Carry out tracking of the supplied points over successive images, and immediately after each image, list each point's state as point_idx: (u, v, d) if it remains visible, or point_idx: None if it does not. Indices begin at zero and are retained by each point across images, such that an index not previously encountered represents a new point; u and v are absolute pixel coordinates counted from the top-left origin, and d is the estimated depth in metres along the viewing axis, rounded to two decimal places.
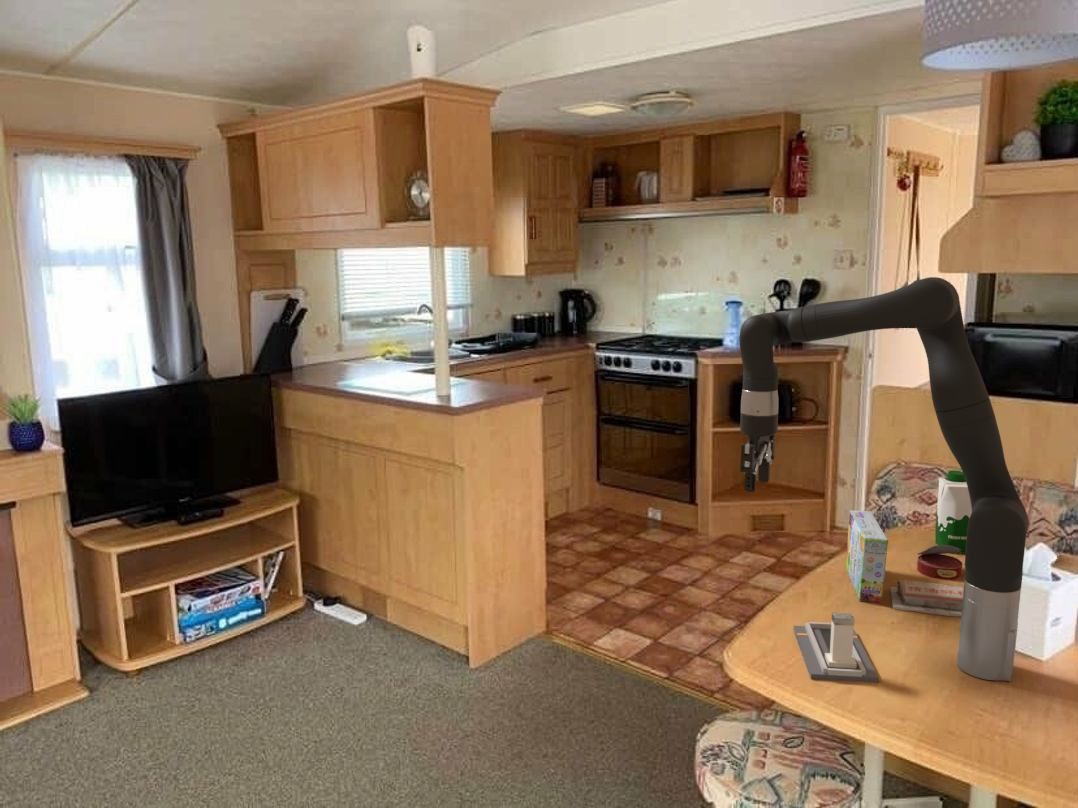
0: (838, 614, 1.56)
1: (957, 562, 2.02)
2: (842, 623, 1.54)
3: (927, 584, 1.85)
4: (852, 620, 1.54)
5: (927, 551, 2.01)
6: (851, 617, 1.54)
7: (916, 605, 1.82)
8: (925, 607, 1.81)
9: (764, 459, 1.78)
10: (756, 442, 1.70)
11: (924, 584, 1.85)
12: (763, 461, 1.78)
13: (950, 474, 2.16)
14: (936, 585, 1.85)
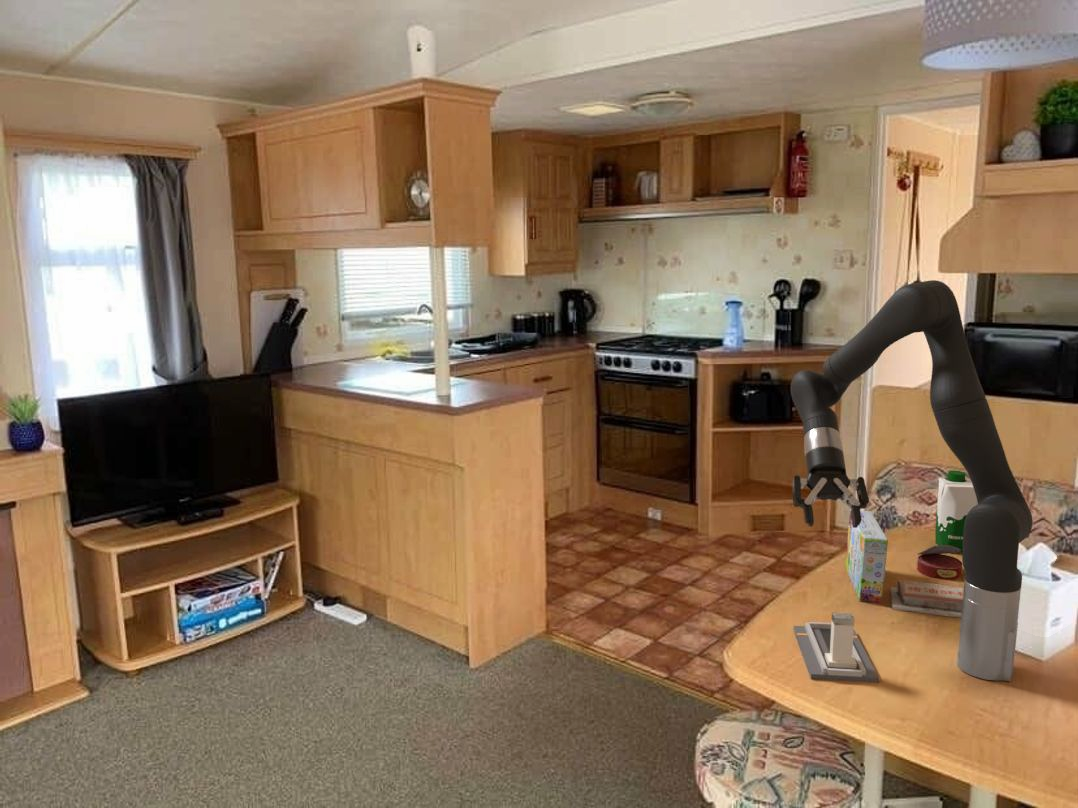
0: (838, 614, 1.56)
1: (957, 562, 2.02)
2: (842, 623, 1.54)
3: (927, 584, 1.85)
4: (852, 620, 1.54)
5: (927, 551, 2.01)
6: (851, 617, 1.54)
7: (915, 605, 1.82)
8: (924, 607, 1.81)
9: None
10: (809, 476, 1.69)
11: (924, 584, 1.85)
12: (852, 505, 1.66)
13: (950, 474, 2.16)
14: (936, 586, 1.84)
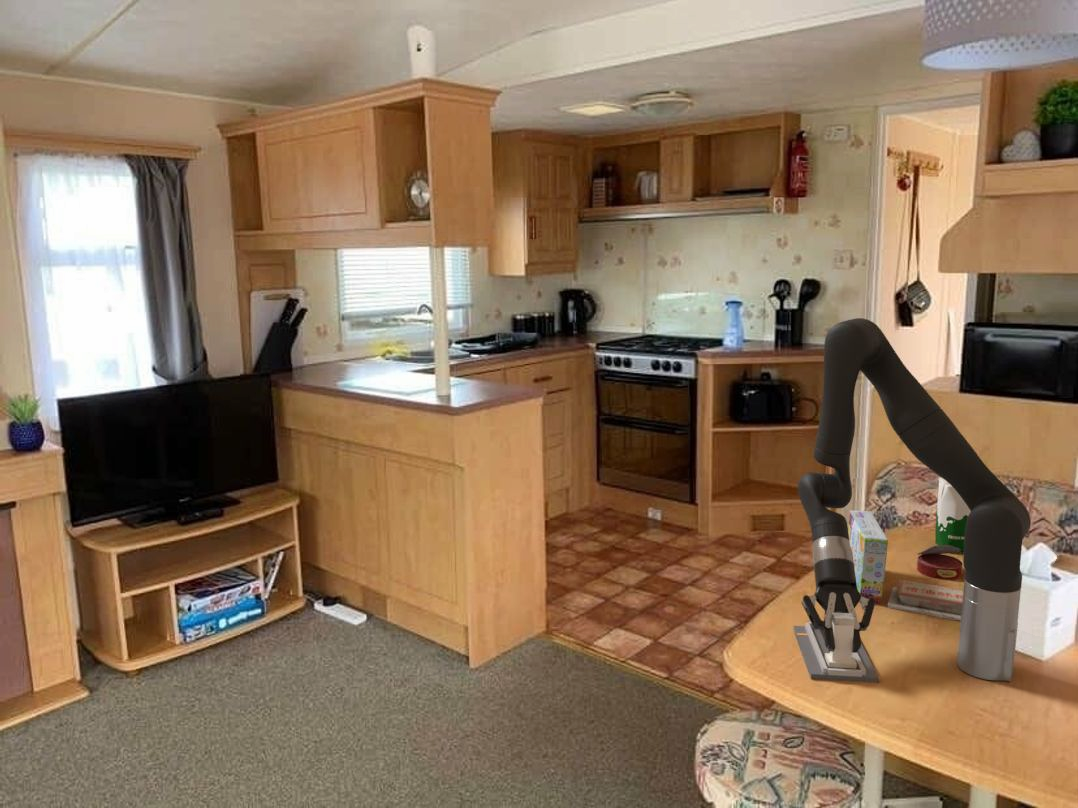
0: (838, 614, 1.56)
1: (957, 562, 2.02)
2: (842, 623, 1.54)
3: (926, 585, 1.84)
4: (852, 620, 1.54)
5: (927, 551, 2.01)
6: (851, 617, 1.54)
7: (911, 605, 1.82)
8: (920, 608, 1.81)
9: None
10: (816, 591, 1.60)
11: (923, 585, 1.85)
12: None
13: None
14: (936, 587, 1.84)
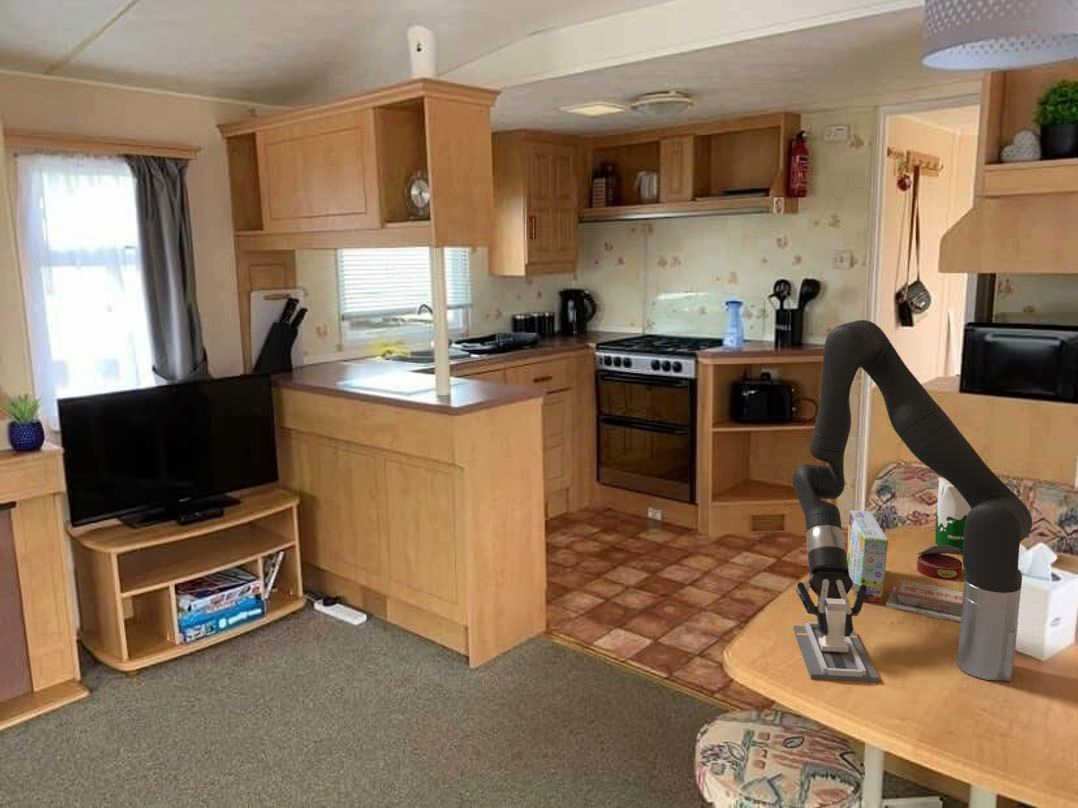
0: (831, 600, 1.62)
1: (957, 562, 2.02)
2: (835, 608, 1.60)
3: (926, 586, 1.84)
4: (844, 605, 1.60)
5: (927, 551, 2.01)
6: (843, 603, 1.60)
7: (909, 605, 1.82)
8: (918, 608, 1.81)
9: None
10: (810, 578, 1.66)
11: (923, 586, 1.85)
12: None
13: None
14: (935, 588, 1.83)
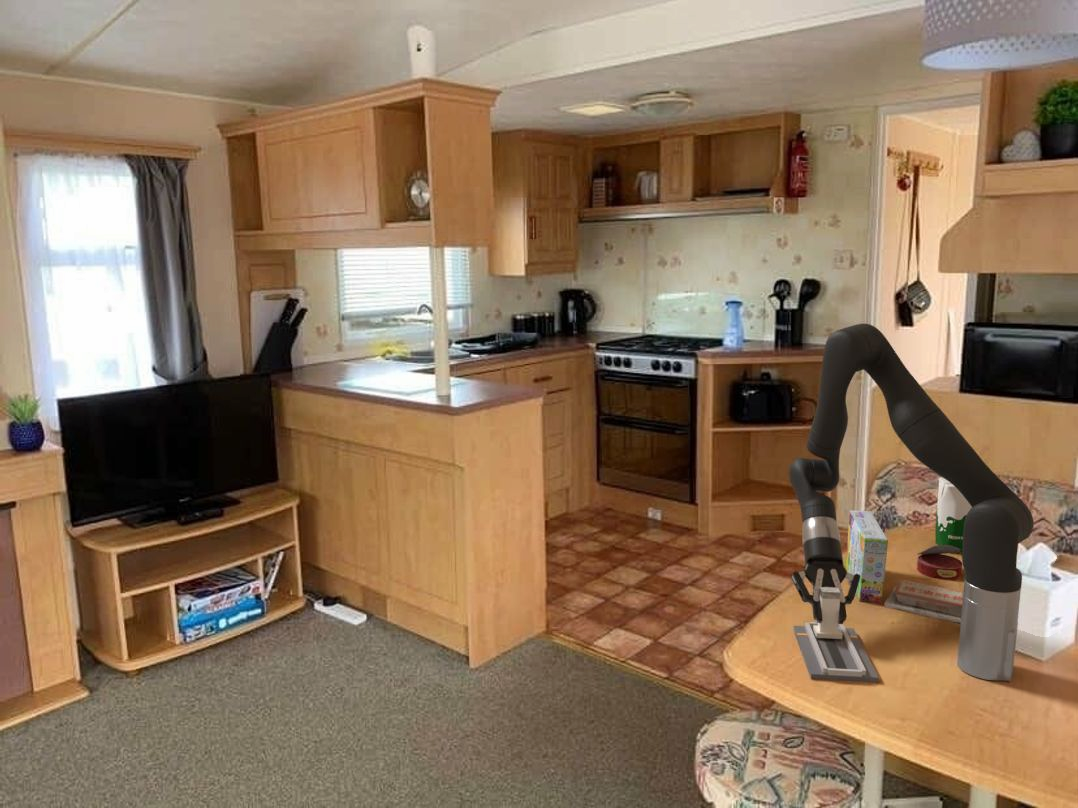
0: (825, 588, 1.67)
1: (957, 562, 2.02)
2: (829, 596, 1.66)
3: (926, 586, 1.84)
4: (838, 594, 1.65)
5: (927, 551, 2.01)
6: (837, 591, 1.66)
7: (908, 605, 1.82)
8: (916, 608, 1.81)
9: None
10: (805, 568, 1.72)
11: (923, 586, 1.84)
12: None
13: None
14: (935, 588, 1.83)
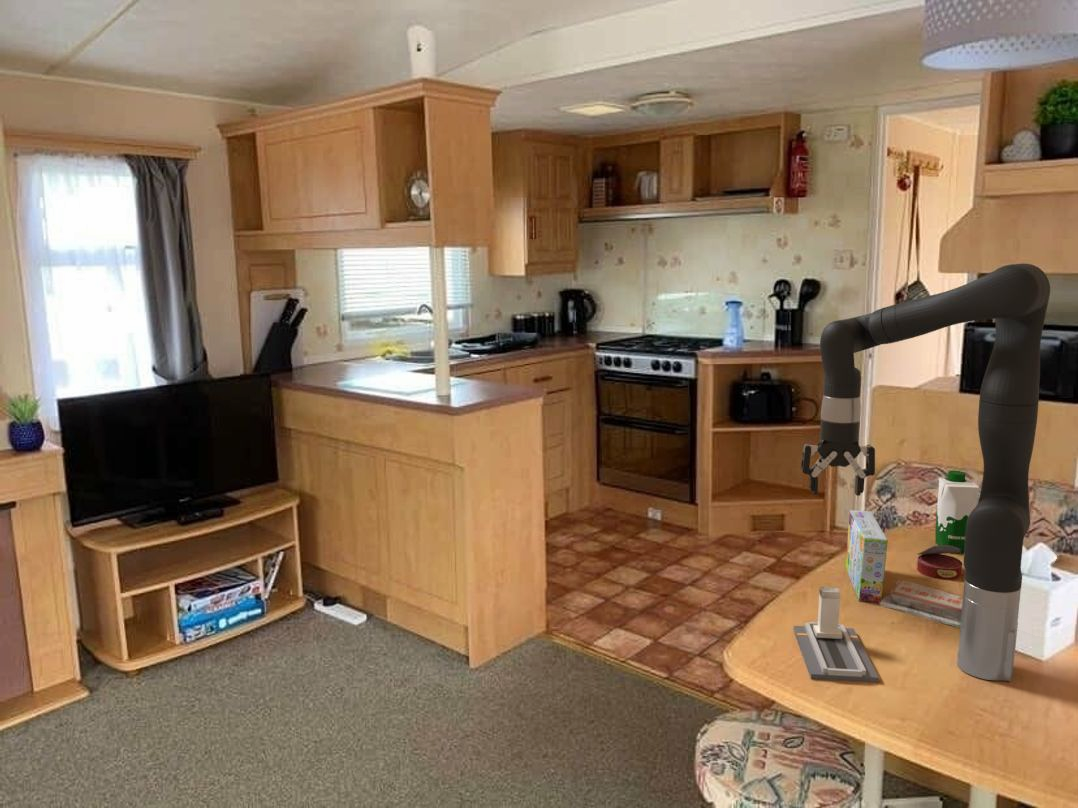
0: (825, 588, 1.67)
1: (957, 562, 2.02)
2: (829, 596, 1.66)
3: (924, 588, 1.83)
4: (838, 593, 1.65)
5: (927, 551, 2.01)
6: (837, 591, 1.66)
7: (903, 605, 1.82)
8: (910, 608, 1.81)
9: None
10: (820, 446, 1.70)
11: (920, 587, 1.84)
12: None
13: (950, 474, 2.16)
14: (932, 590, 1.82)
